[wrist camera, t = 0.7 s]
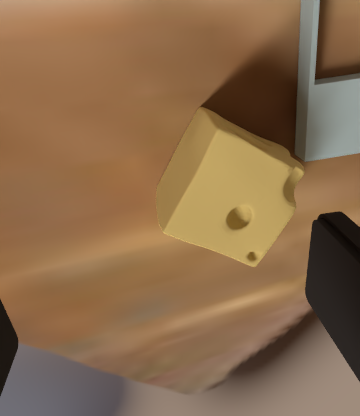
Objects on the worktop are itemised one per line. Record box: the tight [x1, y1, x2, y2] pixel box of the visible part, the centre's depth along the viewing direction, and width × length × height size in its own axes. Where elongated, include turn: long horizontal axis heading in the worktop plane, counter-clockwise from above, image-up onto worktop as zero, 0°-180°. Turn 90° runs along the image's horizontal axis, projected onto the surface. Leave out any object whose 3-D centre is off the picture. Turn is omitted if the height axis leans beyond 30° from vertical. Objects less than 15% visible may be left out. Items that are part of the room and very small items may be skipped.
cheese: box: [156, 107, 305, 267], centre depth 32 cm, size 10×11×10 cm
